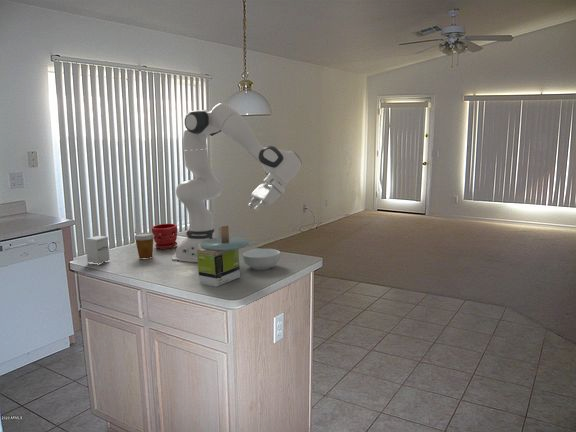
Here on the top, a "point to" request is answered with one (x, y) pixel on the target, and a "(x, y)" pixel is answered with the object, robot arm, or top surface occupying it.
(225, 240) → the cover
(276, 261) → the cereal bowl
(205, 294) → the top surface
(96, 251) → the supplement box
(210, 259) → the tea box
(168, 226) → the plant pot
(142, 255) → the glass of beer
